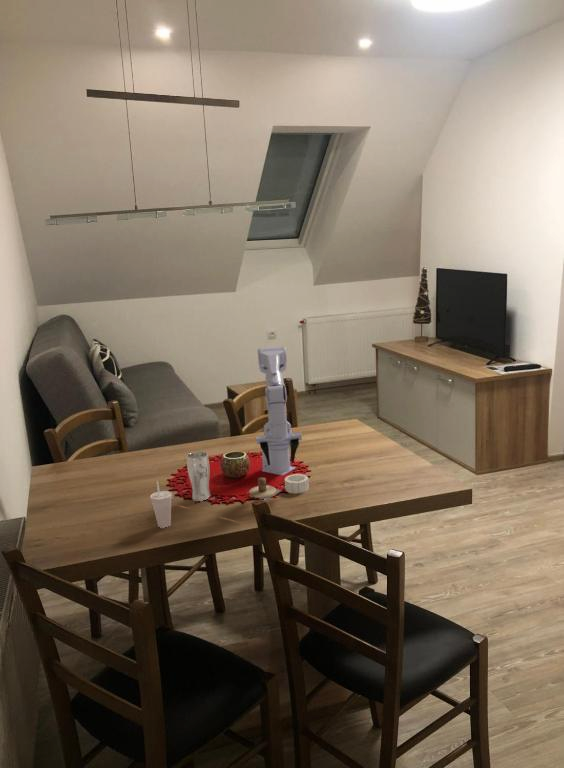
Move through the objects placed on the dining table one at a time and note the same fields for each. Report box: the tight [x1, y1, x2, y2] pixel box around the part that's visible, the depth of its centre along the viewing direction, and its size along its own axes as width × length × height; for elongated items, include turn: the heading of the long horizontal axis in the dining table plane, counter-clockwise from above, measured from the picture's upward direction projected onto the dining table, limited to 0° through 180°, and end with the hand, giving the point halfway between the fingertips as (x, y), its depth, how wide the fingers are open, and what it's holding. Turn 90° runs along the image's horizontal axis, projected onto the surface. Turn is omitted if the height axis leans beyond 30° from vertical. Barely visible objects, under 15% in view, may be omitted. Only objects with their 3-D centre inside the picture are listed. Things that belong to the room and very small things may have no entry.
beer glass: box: [186, 451, 212, 502], centre depth 205 cm, size 7×7×15 cm
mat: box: [259, 488, 283, 502], centre depth 207 cm, size 9×9×1 cm
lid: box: [248, 477, 276, 499], centre depth 206 cm, size 9×9×5 cm
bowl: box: [284, 473, 310, 495], centre depth 208 cm, size 8×8×4 cm
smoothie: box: [149, 480, 173, 529], centre depth 187 cm, size 6×6×14 cm
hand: (280, 463), depth 205 cm, fingers open, 7 cm apart
